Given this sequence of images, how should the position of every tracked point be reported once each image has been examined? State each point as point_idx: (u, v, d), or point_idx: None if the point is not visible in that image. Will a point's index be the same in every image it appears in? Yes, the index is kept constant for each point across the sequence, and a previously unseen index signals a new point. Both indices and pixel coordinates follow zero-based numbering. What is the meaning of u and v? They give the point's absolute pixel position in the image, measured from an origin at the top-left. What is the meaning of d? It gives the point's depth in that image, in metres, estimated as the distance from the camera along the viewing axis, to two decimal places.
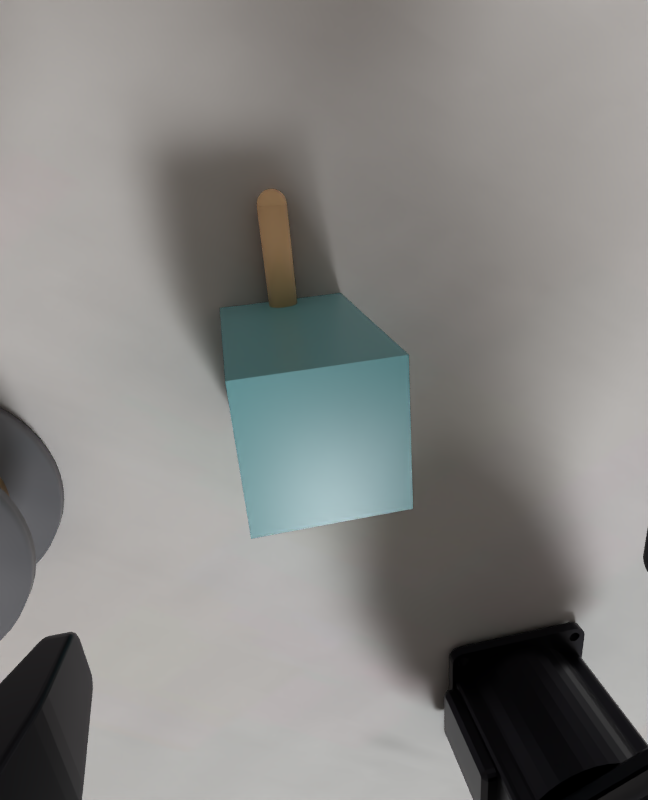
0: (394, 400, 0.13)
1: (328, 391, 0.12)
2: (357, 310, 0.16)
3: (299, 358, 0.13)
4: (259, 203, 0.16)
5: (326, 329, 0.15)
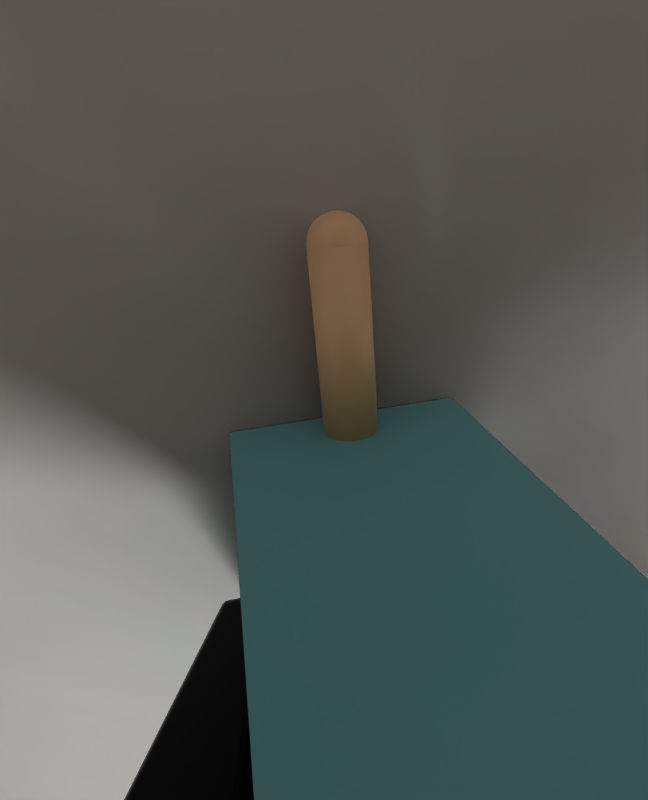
0: None
1: None
2: (520, 466, 0.08)
3: (483, 748, 0.04)
4: (313, 241, 0.08)
5: (490, 555, 0.06)
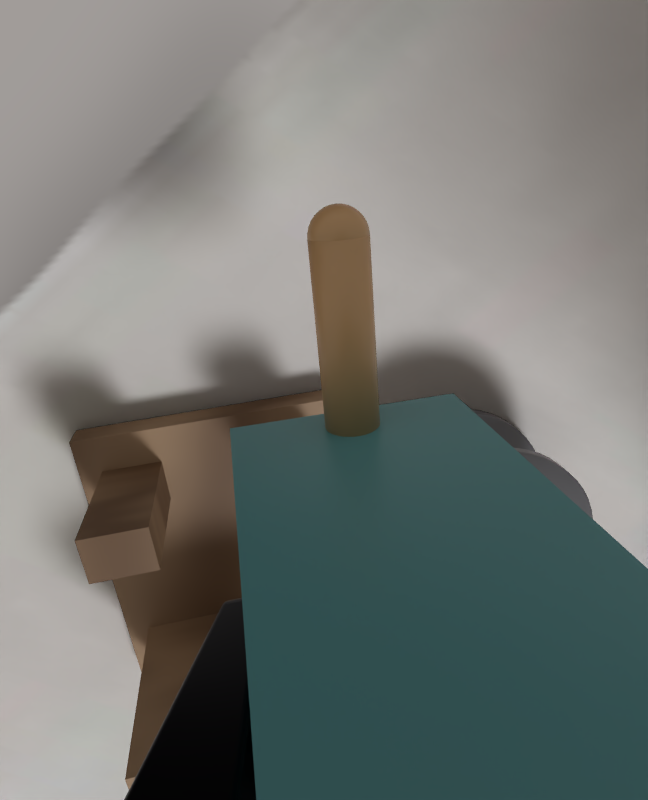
0: None
1: None
2: (523, 461, 0.08)
3: (488, 743, 0.04)
4: (314, 235, 0.08)
5: (493, 550, 0.06)
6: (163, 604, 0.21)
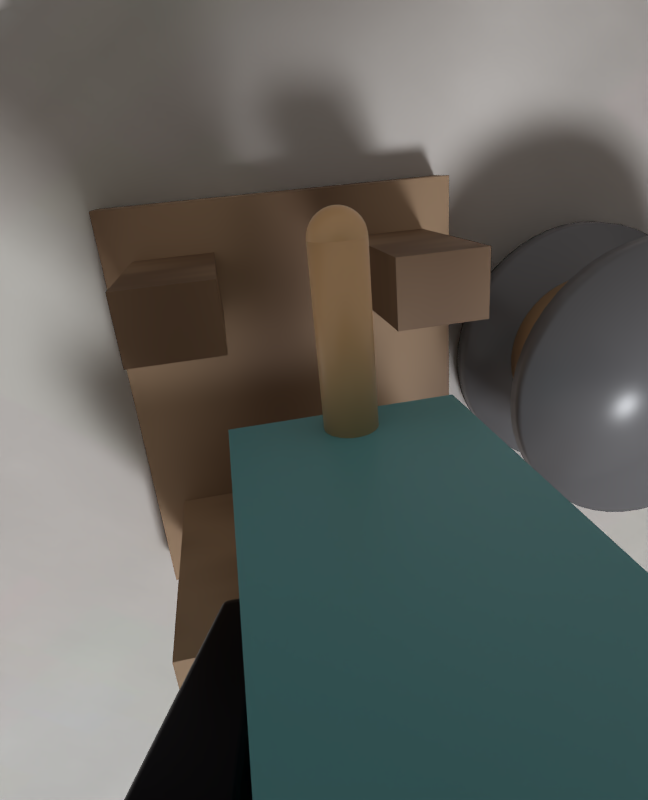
0: None
1: None
2: (522, 463, 0.08)
3: (485, 747, 0.04)
4: (313, 236, 0.08)
5: (491, 552, 0.06)
6: (205, 468, 0.16)
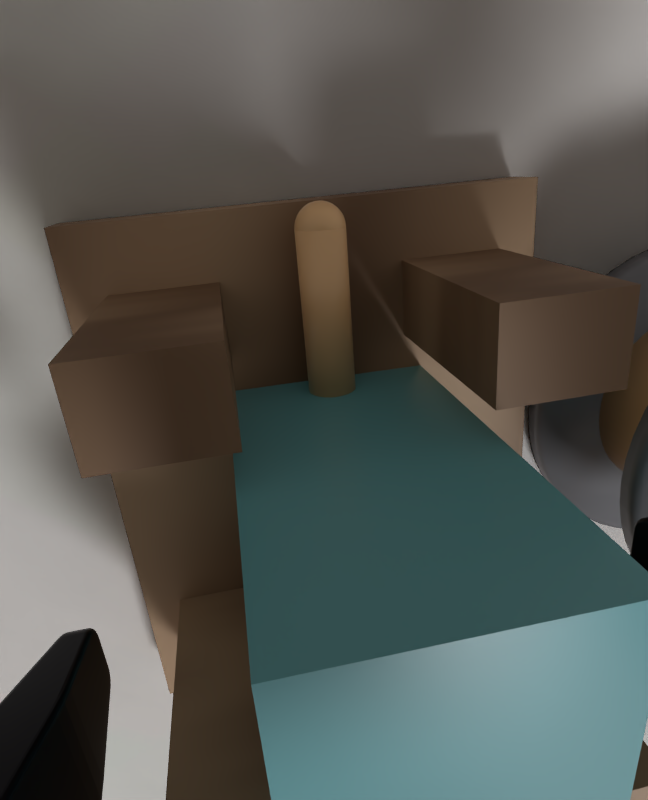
0: (623, 681, 0.06)
1: (488, 680, 0.05)
2: (470, 414, 0.09)
3: (412, 583, 0.06)
4: (300, 226, 0.09)
5: (434, 472, 0.08)
6: (207, 560, 0.12)
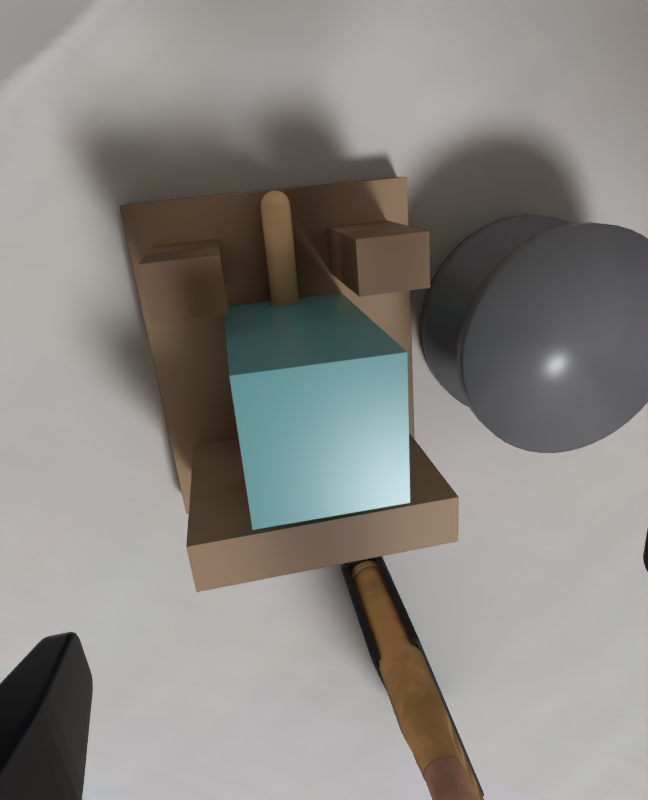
0: (393, 396, 0.13)
1: (329, 387, 0.13)
2: (358, 309, 0.17)
3: (301, 354, 0.13)
4: (263, 204, 0.17)
5: (328, 328, 0.15)
6: (210, 418, 0.20)
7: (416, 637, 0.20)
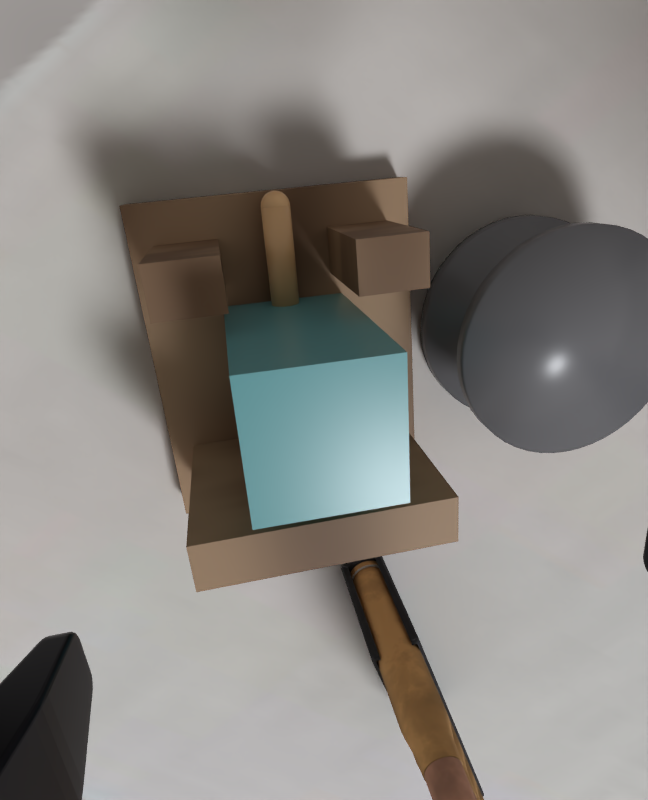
0: (393, 396, 0.13)
1: (329, 387, 0.13)
2: (358, 309, 0.17)
3: (301, 354, 0.13)
4: (263, 204, 0.17)
5: (327, 328, 0.15)
6: (210, 418, 0.20)
7: (416, 637, 0.20)
